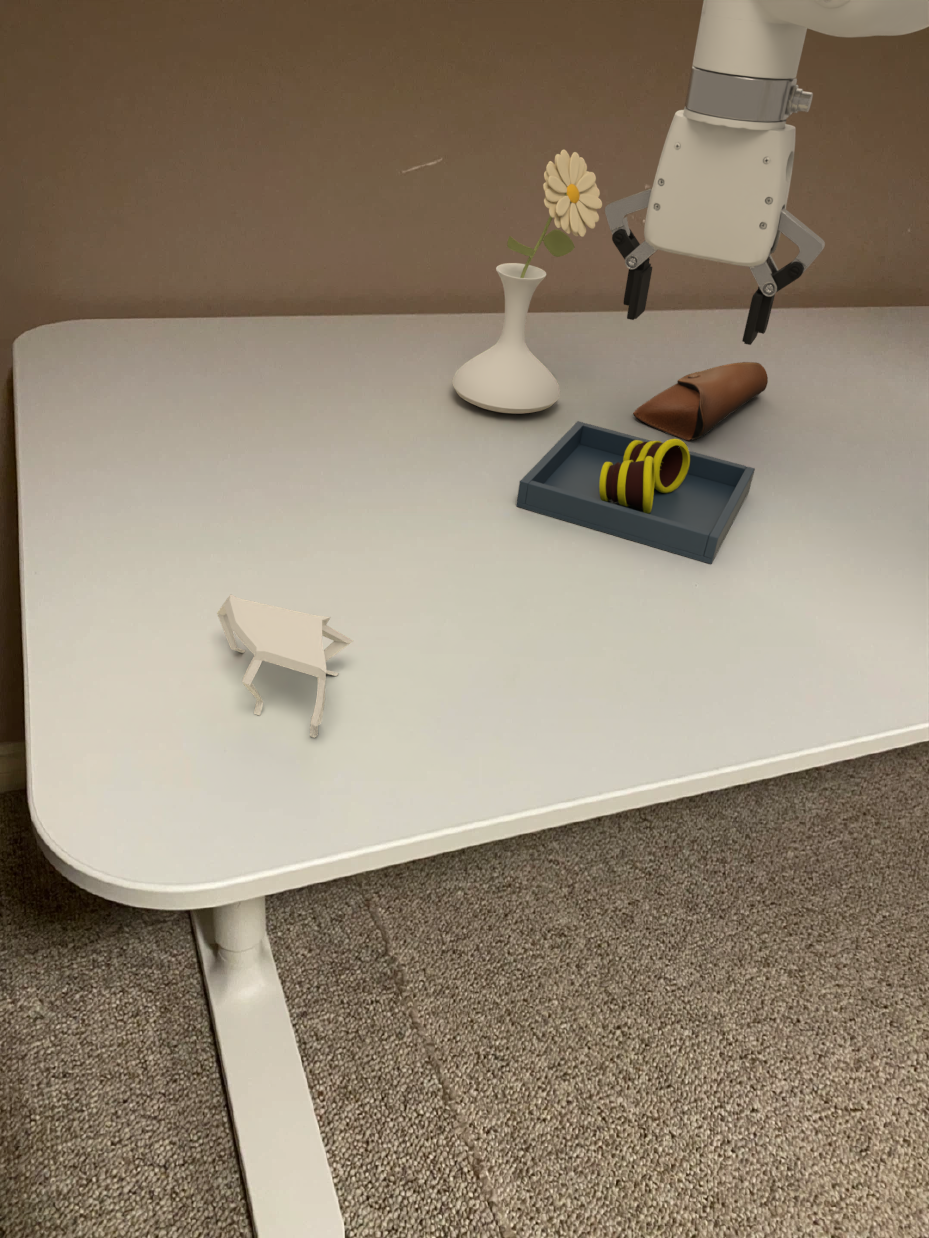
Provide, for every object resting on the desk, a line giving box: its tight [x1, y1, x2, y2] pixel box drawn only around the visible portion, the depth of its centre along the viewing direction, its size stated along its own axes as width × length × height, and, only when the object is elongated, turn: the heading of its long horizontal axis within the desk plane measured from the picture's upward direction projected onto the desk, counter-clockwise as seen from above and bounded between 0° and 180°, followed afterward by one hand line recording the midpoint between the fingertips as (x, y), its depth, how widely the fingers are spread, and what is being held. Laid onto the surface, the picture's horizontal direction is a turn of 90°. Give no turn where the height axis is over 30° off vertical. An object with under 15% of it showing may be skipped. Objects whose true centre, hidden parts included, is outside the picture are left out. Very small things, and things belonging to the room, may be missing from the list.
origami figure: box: [216, 593, 354, 739], centre depth 70 cm, size 12×8×5 cm
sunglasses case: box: [632, 361, 769, 442], centre depth 117 cm, size 18×7×7 cm
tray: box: [515, 420, 756, 565], centre depth 98 cm, size 18×16×2 cm
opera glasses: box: [599, 438, 690, 514], centre depth 97 cm, size 10×5×5 cm, turn 148°
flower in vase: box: [451, 149, 603, 415], centre depth 108 cm, size 13×11×25 cm
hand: (691, 327), depth 89 cm, fingers open, 9 cm apart
